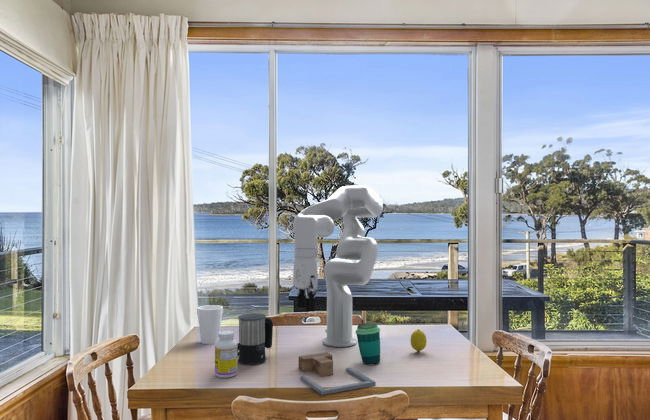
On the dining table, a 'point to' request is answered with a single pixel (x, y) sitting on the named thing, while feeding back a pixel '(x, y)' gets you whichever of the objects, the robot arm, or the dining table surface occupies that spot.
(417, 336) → the lemon
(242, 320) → the milk frother
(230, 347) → the supplement bottle
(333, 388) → the grey u-shaped bar
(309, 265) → the robot arm
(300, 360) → the t block
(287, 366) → the dining table surface
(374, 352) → the cup
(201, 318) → the foam cup
